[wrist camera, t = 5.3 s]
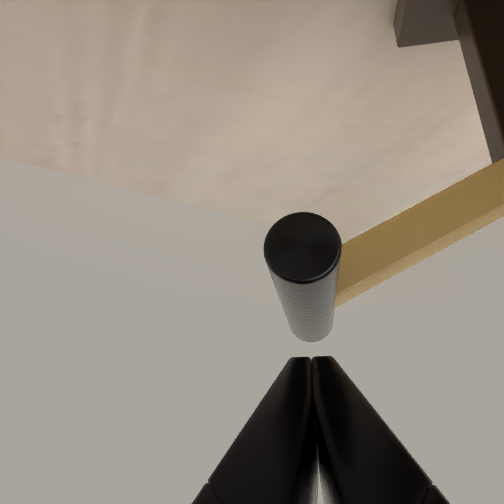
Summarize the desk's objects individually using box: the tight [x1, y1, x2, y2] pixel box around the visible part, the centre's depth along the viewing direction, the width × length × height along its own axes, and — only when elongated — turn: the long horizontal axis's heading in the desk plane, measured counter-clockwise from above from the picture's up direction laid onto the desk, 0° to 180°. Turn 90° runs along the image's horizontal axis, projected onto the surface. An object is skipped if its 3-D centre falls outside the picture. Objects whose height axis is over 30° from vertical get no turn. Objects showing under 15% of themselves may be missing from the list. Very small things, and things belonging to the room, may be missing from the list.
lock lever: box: [264, 158, 504, 342], centre depth 10 cm, size 11×6×2 cm, turn 99°
